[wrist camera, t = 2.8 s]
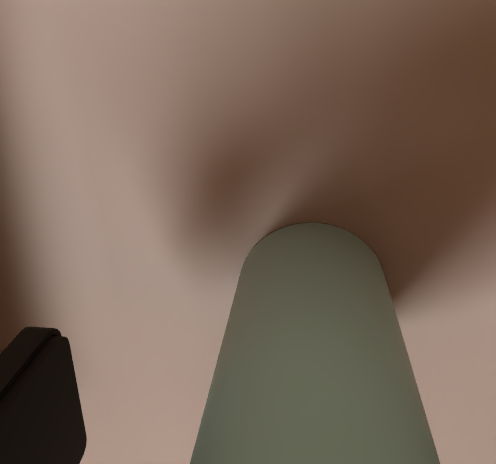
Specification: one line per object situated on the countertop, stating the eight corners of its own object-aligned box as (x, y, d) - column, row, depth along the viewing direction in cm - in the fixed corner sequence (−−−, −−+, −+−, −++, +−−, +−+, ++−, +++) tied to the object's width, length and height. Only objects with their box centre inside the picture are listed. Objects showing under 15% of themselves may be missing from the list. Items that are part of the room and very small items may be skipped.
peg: (394, 226, 12) (645, 834, 3) (375, 353, 14) (504, 992, 5) (239, 218, 13) (62, 734, 4) (239, 342, 14) (117, 911, 5)
